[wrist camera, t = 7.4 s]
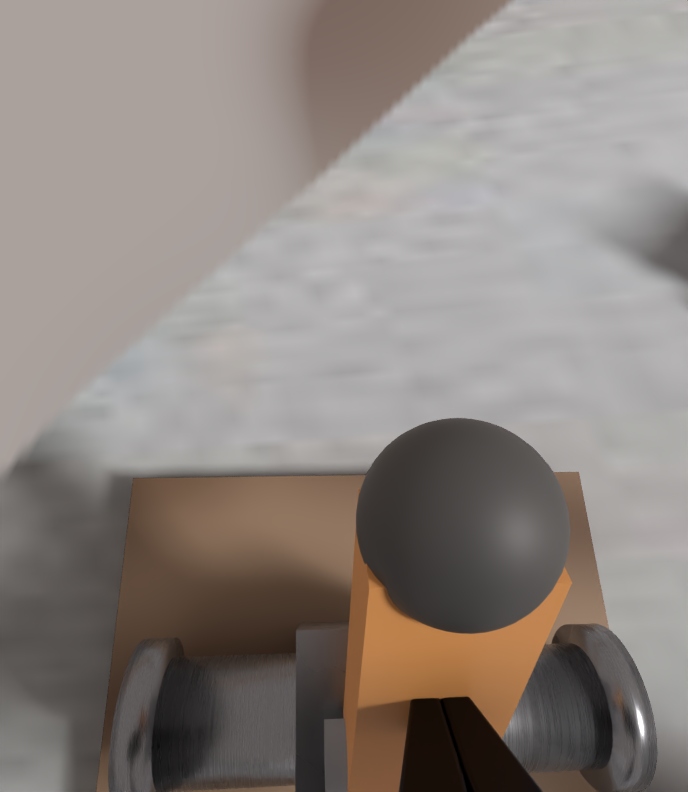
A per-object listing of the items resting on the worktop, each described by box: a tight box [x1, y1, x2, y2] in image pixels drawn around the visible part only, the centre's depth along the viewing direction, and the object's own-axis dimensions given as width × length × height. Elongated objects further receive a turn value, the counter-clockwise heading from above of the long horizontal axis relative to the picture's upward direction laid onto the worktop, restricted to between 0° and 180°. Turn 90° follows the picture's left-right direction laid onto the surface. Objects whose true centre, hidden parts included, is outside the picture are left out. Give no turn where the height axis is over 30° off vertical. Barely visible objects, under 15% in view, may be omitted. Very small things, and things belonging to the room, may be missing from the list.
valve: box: [108, 621, 657, 792], centre depth 14 cm, size 4×13×5 cm, turn 92°
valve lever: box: [324, 418, 572, 792], centre depth 8 cm, size 3×3×8 cm
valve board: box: [96, 472, 640, 792], centre depth 17 cm, size 14×16×1 cm
